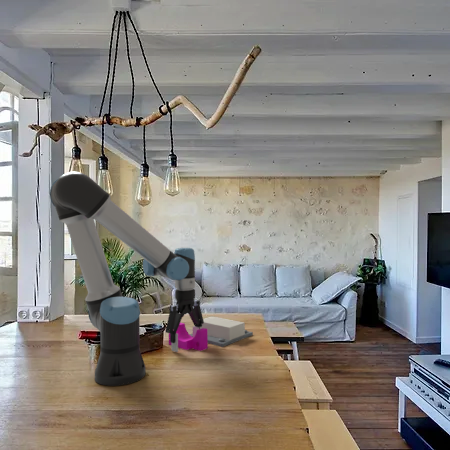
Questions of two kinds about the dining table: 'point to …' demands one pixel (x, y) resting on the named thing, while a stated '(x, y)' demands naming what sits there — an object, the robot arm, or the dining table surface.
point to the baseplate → (224, 331)
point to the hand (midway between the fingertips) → (185, 347)
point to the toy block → (191, 339)
